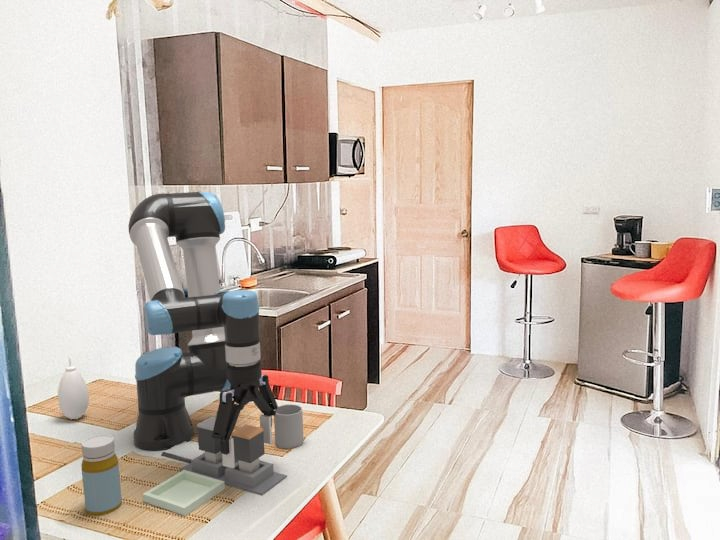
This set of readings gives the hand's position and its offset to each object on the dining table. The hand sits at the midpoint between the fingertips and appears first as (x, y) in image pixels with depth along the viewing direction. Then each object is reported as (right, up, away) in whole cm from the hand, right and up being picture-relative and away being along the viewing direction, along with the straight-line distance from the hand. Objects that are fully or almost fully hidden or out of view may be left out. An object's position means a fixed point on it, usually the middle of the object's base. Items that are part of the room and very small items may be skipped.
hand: (248, 454), depth 140 cm
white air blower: (-56, -2, +39) cm, 69 cm away
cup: (+6, -3, +22) cm, 23 cm away
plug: (0, -5, +1) cm, 6 cm away
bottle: (-28, -9, -9) cm, 31 cm away
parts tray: (-13, -8, -5) cm, 16 cm away
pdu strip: (-9, -6, +6) cm, 12 cm away
